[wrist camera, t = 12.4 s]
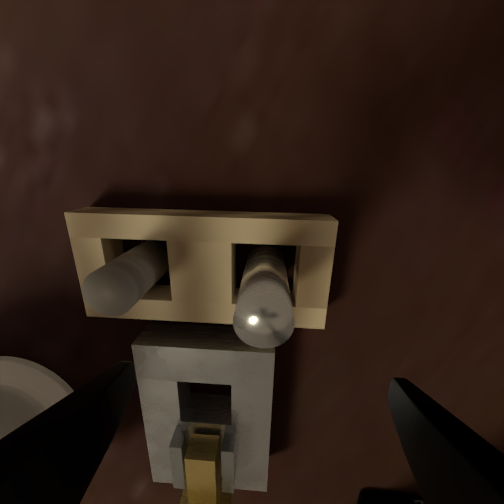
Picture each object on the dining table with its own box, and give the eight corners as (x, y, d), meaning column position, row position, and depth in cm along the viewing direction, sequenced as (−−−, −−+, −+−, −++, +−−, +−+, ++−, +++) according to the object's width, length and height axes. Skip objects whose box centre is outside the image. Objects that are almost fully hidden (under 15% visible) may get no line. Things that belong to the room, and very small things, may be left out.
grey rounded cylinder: (285, 245, 19) (297, 297, 12) (283, 281, 20) (292, 350, 13) (246, 244, 19) (232, 293, 12) (245, 279, 20) (232, 346, 13)
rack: (329, 214, 18) (357, 235, 13) (317, 310, 21) (336, 364, 15) (89, 206, 19) (13, 223, 13) (106, 300, 22) (49, 347, 16)
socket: (274, 328, 22) (275, 371, 17) (266, 457, 27) (266, 516, 22) (148, 322, 22) (118, 362, 18) (165, 448, 27) (144, 505, 23)
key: (231, 436, 21) (223, 494, 18) (231, 495, 24) (224, 557, 20) (180, 432, 22) (161, 488, 18) (185, 491, 24) (170, 552, 20)
